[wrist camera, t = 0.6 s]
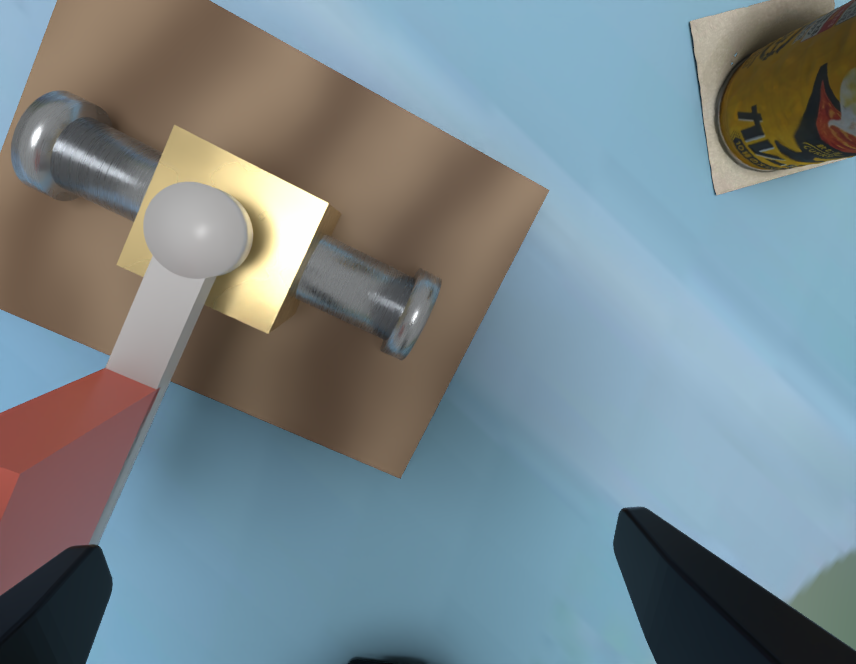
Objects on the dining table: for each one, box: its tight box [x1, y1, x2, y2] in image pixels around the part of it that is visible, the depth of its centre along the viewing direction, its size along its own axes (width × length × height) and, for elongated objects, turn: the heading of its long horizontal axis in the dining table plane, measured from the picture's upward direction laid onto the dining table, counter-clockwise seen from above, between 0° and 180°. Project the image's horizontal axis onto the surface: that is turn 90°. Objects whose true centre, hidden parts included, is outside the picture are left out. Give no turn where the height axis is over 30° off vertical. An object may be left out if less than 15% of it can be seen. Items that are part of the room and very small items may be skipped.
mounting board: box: [0, 0, 549, 478], centre depth 23 cm, size 22×16×2 cm
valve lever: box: [0, 182, 253, 595], centre depth 13 cm, size 15×3×7 cm, turn 153°
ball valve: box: [11, 90, 442, 361], centre depth 19 cm, size 16×5×6 cm, turn 63°
